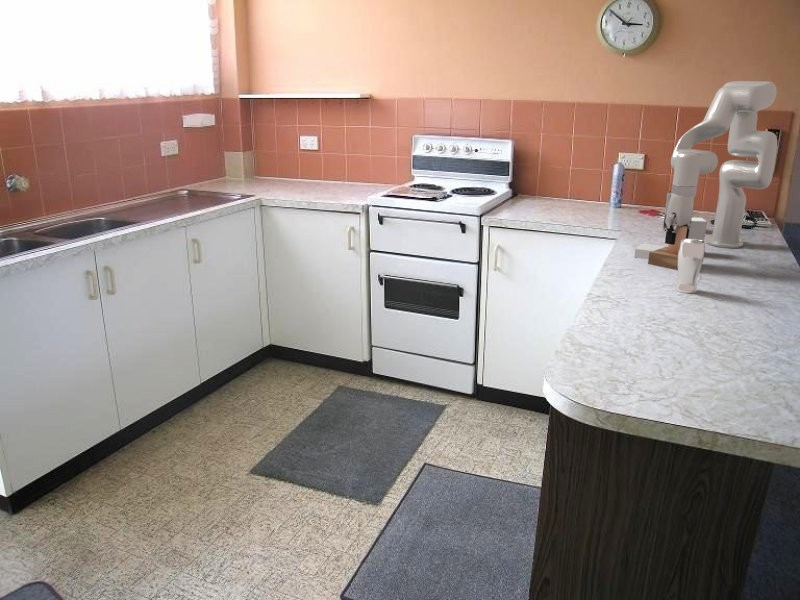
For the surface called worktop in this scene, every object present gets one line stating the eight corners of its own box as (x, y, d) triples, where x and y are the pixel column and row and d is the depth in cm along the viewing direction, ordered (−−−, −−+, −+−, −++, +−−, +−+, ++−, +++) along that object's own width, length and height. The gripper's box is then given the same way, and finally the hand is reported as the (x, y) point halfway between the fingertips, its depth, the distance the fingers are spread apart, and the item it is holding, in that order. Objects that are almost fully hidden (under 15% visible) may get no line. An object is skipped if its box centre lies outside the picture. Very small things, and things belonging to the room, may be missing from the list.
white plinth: (640, 251, 242) (641, 243, 241) (669, 255, 237) (670, 246, 236) (634, 257, 234) (635, 248, 233) (664, 261, 229) (665, 252, 228)
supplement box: (702, 256, 236) (707, 221, 232) (680, 255, 237) (685, 220, 233) (697, 251, 243) (703, 217, 239) (676, 250, 244) (681, 216, 240)
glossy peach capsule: (671, 250, 228) (674, 224, 225) (686, 252, 224) (690, 226, 221) (664, 252, 224) (667, 226, 222) (679, 255, 221) (683, 228, 218)
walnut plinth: (664, 257, 234) (665, 246, 232) (698, 264, 225) (700, 253, 224) (647, 263, 226) (649, 252, 224) (682, 271, 217) (684, 259, 216)
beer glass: (697, 288, 200) (705, 239, 195) (699, 294, 193) (707, 244, 189) (672, 285, 202) (679, 237, 197) (673, 292, 195) (680, 242, 191)
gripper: (684, 186, 226) (677, 236, 231) (660, 192, 215) (653, 243, 220) (706, 189, 221) (698, 239, 226) (683, 195, 209) (675, 247, 215)
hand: (676, 241), depth 223 cm, fingers open, 9 cm apart
